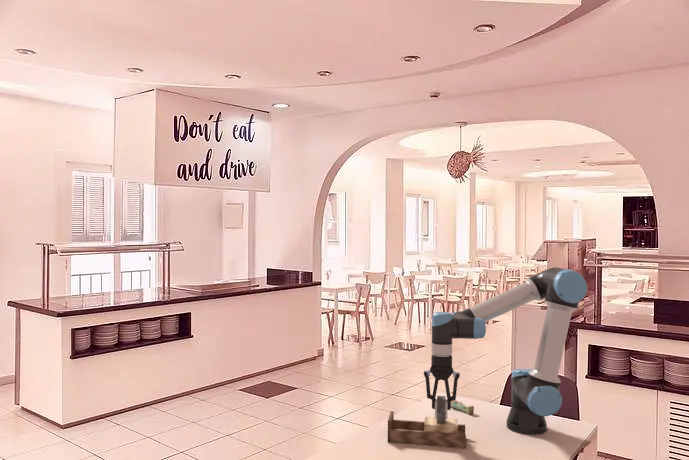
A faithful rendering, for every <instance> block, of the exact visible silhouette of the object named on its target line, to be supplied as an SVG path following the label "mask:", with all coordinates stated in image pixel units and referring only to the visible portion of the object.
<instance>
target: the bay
mask: <svg viewBox="0 0 689 460" xmlns="http://www.w3.org/2000/svg"><path fill="white" fill-rule="evenodd" d="M394 418H395V416H394V410H391V411H390V414H389V416H388V419H387V443H391V444H404V445H415V446H425V445H427V446H428V447H439V448H452V449H462V450H463V449H467V434H466V424H461V423H458V434H455V433H442V432H429V431H424V422H425V421H421V420H419V421H418V420H408V419H407V420H404V419H394ZM427 446H426V447H427Z"/></svg>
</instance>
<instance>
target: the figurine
mask: <svg viewBox="0 0 689 460" xmlns="http://www.w3.org/2000/svg"><path fill="white" fill-rule="evenodd" d="M451 408H453V409H454V410H458V411H460V412H461V413H462V412H463V413H465V414H467V415H468V416H473V415H474V409H475V407H474V405H469V406H466V405H465V404H464V403H462V401H458V400H457V399H456V400H452V401H451Z"/></svg>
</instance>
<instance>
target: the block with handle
mask: <svg viewBox="0 0 689 460" xmlns="http://www.w3.org/2000/svg"><path fill="white" fill-rule="evenodd" d="M436 399H437V419H435V417H430V416H425V417H424V421H423V422H424V431H429V432H442V433H455V434H458V424H459V422H458V418H457V419H456V418H447V420H445V400H447V395H436Z"/></svg>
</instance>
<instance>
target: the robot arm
mask: <svg viewBox="0 0 689 460" xmlns="http://www.w3.org/2000/svg"><path fill="white" fill-rule="evenodd" d="M587 292H588V284H587V281H586V279H585V278H584V276H583V275H582V274H581V273H579V272H578V271H575V270H573V269H567V268H561V267H556V266H555V267H550V268H547V269H544V270H542V271H540V272H539V273H536V274H535V275H532V276H530V277H528V278H526V280H525V282H523V283H521V284H519V285H516V286H515V287H512V288H510V289H508V290H505V291H504V292H501V293H499V294H497V295H494V296H492V297H490V298H488V299H486V300H484V301H481V302H479V303H477V304H475V305H473V306H471V307H468V308H466V309H464V310H462V311H458V310H457V311H454V312H453V313H451V312H448V311H436V312H433V314H432V316H431V362H430V363H431V366H430V368H429V369H427V370H426V369H425V370H424V371H423V376H424V378H425V388H426V398H427V399H429V400H431V409H432V410H434V418H435V419H437V391H438V384H439V381H444V386H445V392H446V400H445V420H447V419H448V411H451V408H452V407H451V401H452V400H456V401H457V389H458V380H459V379H460V375H461V374H460V372H459V371H455V370H454V368H453V355H452V354H453V339H455V340H457V339H470V340H471V339H472V340H478V339H484V338H485V337H486V333H487V327H486V326H487V325H486V322H489V321H491V320H493V319H495V318H498V317H499V316H502V315H504V314H507V313H509V312H511V311H513V310H515V309H518V308H520V307H521V306H524V305H526V304H529V303H531V302H532V301H538V302H540V301H542V300H544V302H545V304H546V306H547V309H546V313H545V316H544V322H543V324H542V325H543V326H542V331H541V335H540V340H539V344H538V349H537V354H536V357H535V362H534V366H533V368H516V369H513V370H512V371H511V376H510V377H511V378H510V379H511V391H510V392H511V397H510V398H511V400H510V401H511V403H510V405H511V406H510V409H509V413H508V415H507V418H506V427H507V429H509V430H510V431H512V432H515V433H518V434H522V435H523V434H524V435H533V436H534V435H543V434H545V433H546V432H548V431H547V430H548V423H547V420H546V418H545V417H550V416H552V415H554V414H556V413H557V412H558V411H560V409H561V407H562V403H563V397H562V395H561V392H560V388H561V384H562V380H561V379H560V377H559V372H560V368H561V362H562V359H563V354H564V351H565V350H564V349H565V344H566V340H567V337H568V336H567V335H568V331H569V327H570V322H571V319H572V318H571V317H572V315H573V312H575V311H576V310H578V308H579V304H580V302H581V301H582V300H583V299H584V298H585V297H586V296H587ZM431 374H432V376H433V378H434V384H433V390H432V394H431V383H430V376H431ZM451 376H453V377H452V378H453V387H452V395H451V392H450V384H449V378H450V377H451Z"/></svg>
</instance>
